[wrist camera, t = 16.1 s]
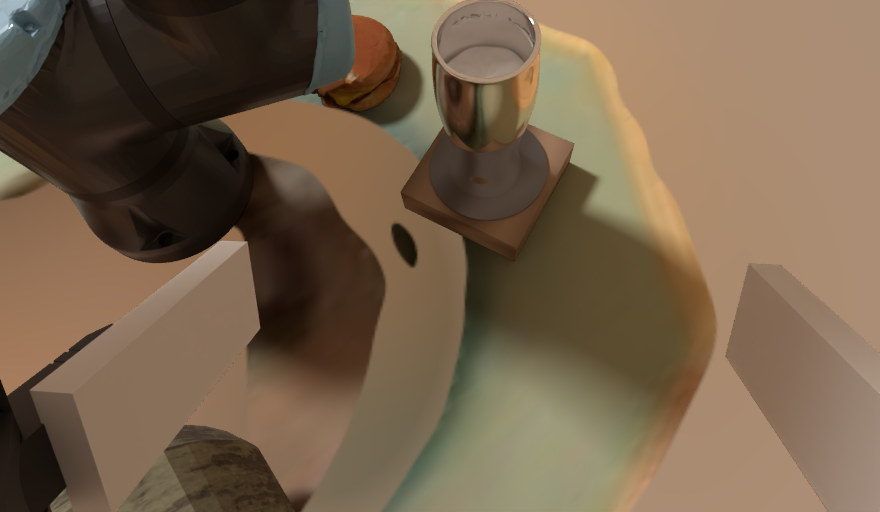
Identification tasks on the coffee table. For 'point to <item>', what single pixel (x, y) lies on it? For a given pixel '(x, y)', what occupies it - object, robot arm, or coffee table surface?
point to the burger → (366, 69)
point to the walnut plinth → (493, 218)
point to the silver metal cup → (485, 89)
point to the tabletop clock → (203, 478)
